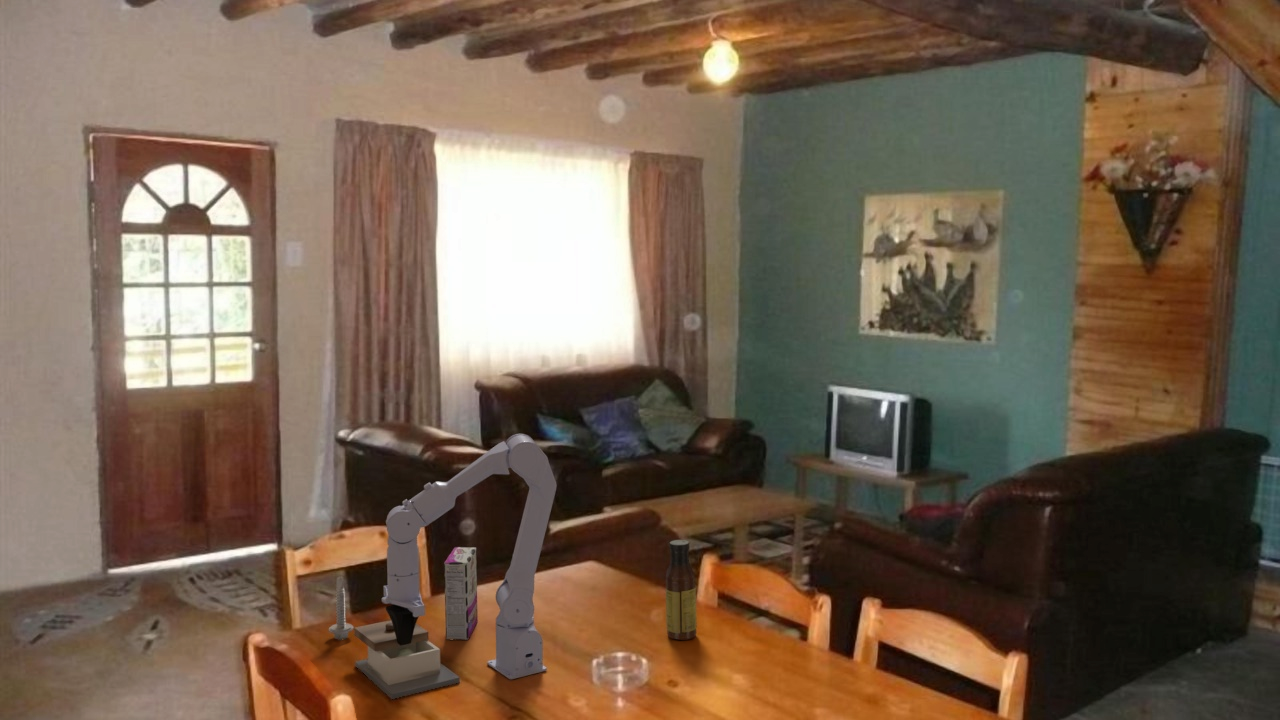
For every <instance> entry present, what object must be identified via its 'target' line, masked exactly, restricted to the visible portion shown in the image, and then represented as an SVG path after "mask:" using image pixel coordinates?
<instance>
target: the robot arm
mask: <svg viewBox="0 0 1280 720" xmlns="http://www.w3.org/2000/svg"><path fill="white" fill-rule="evenodd" d="M548 458H549V457H548V456H547V455H546V453H544V452H543V450H542V448H541V447H540V446H539V444H537V443H536V442H535V440H533V438H532V437H531V436H530V435H528V434H525V433H516V434H513V435H510V437H508V438H507V439H506V441H504V440H503V441H501V442H499V443H498V444H496V445H495V446H494V447H492V448H490V449H489V450H488V451H486V452H485V453H483V455H481V456H480V457H478V458H477V459H476V460H474V461H473V462H472V463H470V464H469V465H468V466H466V467H465V468H464V469H463V470H461V471H460V472H459V473H457V474H456V475H454V476H453V477H452V478H451V479H449V480H448V481H435V482H433V483H431V482H430V481H429V482H428V483H425V484H424V485H423V490H422V491H421V492H419V493H417V494H416V495H414V496H413V497H412V498H411V499H409V500H408V499H407V498H406V499H404V500H403V501H402V505H397V506H395V507H393V508H392V509H391V510H390V511H389V512H388V514H387V516H386V520H385V524H386V531H387V534H388V537H387V547H386V548H387V549H386V567H387V568H386V569H387V571H386V572H387V585H383V597H382V598H381V602H382V604H385V605H386V606H385V611H386V613H387V614H388V616H389V618H390V620H391V621H392V624H393V627H394V631H395V635H396V639H397V642H398V644H399V645H406V644H410V643H411V640H412V636H413V632H414V628H415V625H416V624H417V622H418V619H419V617H424V616H426V605H425V604H424V602H423V599H422V594H421V593H420V547H419V545H418V536H419V534H420V531H421V528H425V527H428V526H429V525H430V524H431V523H433V522H435V521H436V520H437V519H439V518H440V517H441V516H443V515H444V514H446V513H448V511H450V510H452V509H454V507H455V505H456V499H457V497H458V496H460V495H462V494H464V492H467V491H468V490H470V489H471V488H473V487H475V486H477V484H480V483H481V482H483V481H484V480H485V479H487V478H489V477H490V476H492V475H510V470H509V469H511V470H512V471H513V472H514V473H515V474H517V475H518V476H519V477H520V478H522V479H523V480H524V481H525V483H526V485H527V486H528V487H529V488H528V489H529V490H528V493H527V497H526V501H525V505H524V509H523V513H522V518H521V521H520V525H519V529H518V533H517V537H516V541H515V545H514V549H513V553H512V558H511V561H510V566H509V568H508V569H507V570H506V572H505V575H504V576H505V577H504V579H503V581H502V582H501V584H499V586H498V588H497V589H496V591H495V601H496V604H497V606H498V607H499V612H498V615H497V616H496V617H495V659H491V660H488V661H487V663H486V664H487V665H489V667H491V668H492V669H494V670H496V671H497V672H498V673H500V674H502V676H504V677H506V678H507V679H509V680H514V679H519V678H522V677H527V676H529V675H530V676H531V675H534V674H537V673H542V672H546V671H547V670H548V668H547V667H546V666H545V665H544V663H543V661H544V659H543V658H544V656H543V652H544V648H543V647H544V645H543V644H544V643H543V641H544V640H543V637H542V634H541V633H540V632H538V630H537V629H536V627H535V617H534V614H535V605H534V598H533V597H534V593H535V575H536V572H537V567H538V563H539V559H540V555H541V551H542V547H543V543H544V539H545V534H546V531H547V527H548V524H549V523H548V522H549V520H550V515H551V511H552V508H553V503H554V500H555V495H556V491H557V481H556V478H555V475H554V472H553V471H552V468H551V465H550V462H549V459H548ZM388 604H391V605H388Z"/></svg>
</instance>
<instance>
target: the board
mask: <svg viewBox="0 0 1280 720" xmlns="http://www.w3.org/2000/svg"><path fill="white" fill-rule="evenodd" d="M354 664H355V665H354V667H355V666H356V667H357V668H359V669H360V670H361V671H362V672H363V673H364V674H365V675H366V676H367V677H368V678H367V677H366V676H365V675H364V674H363V673H362V672H361V671H360V670H359V669H358V670H359V671H360V672H361V673H362V674H363V675H364V676H365V677H366V678H367V679H368V680H369V681H371V680H372V681H373V682H374V683H373V682H372V681H371V682H372V683H373V684H374V685H375V686H376V685H377V687H378V688H379V690H381V691H382V692H383V693H384V694H385V693H386V694H387V695H386V694H385V695H386V696H388V698H390V699H391V700H392V699H393V700H396V699H395V698H397V699H400V698H399V697H401V698H403V697H402V696H405V697H407V696H406V695H409V696H411V695H410V694H413V695H415V694H414V693H417V694H420V693H419V692H421V693H424V692H423V691H425V692H427V691H426V690H429V691H432V690H431V689H433V690H436V689H435V688H437V689H440V688H439V687H441V688H444V687H443V686H445V687H448V685H449V686H451V685H452V684H453V685H455V684H456V683H457V684H459V683H460V680H461V678H460V676H458V675H457V674H455V673H454V672H453V671H452V670H450V669H449V668H448V667H446V666H445V665H444V664H442V663H441V662H440V673H437V674H433V675H429V676H425V677H421V678H416V679H412V680H408V681H404V682H400V683H396V684H392V685H388V684H387V683H386V682H385V681H383V680H382V679H381V678H380V677H379V676H378V675H377V674H375V673H374V672H373V671H372V670H371V669H370V668H368V658H365V659H360V660H357V661H355V662H354ZM356 667H355V668H356ZM357 668H356V669H357Z"/></svg>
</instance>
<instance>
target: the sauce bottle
mask: <svg viewBox="0 0 1280 720" xmlns="http://www.w3.org/2000/svg"><path fill="white" fill-rule="evenodd" d="M669 550H670V561H669V562H670V563H669V566H668V567H667V569H666V571H665V608H666V609H665V611H666V612H665V613H666V616H665V617H666V621H665V622H666V633H667V635H668V637H669V638H671V639H673V640H678V641H679V640H680V641H686V640H687V641H688V640H691V639H694V638H696V636H697V628H698V625H697V624H698V623H697V622H698V621H697V597H696V596H697V589H696V587H697V586H696V579H695V577H696V575H695V574H696V573H695V571H694V570H693V567H692V566H691V563H690V557H689V553H690V552H689V551H690V542H689V540H684V539H674V540H671V541H670V542H669Z"/></svg>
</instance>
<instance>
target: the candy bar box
mask: <svg viewBox="0 0 1280 720" xmlns="http://www.w3.org/2000/svg"><path fill="white" fill-rule="evenodd" d="M443 567H444V568H443V569H444V571H443V572H444V603H445V605H444V606H445V609H444V610H445V613H444V615H445V640H446V639H453V640H452V641H469V640H468V639H470V638H471V635H472V633H473V631H474V629H475V627H476V626H477V623H478V620H479V619H478V617H479V616H478V584H477V583H478V581H477V580H478V579H477V578H478V575H477V573H478V572H477V571H478V570H477V569H478V568H477V547H474V546H473V547H471V546H470V547H467V546H466V547H465V546H455V547H454V548H453V549H452V551H451V552H450V554H449V555H448V556H447V558H446V560H445V561H444V563H443ZM469 637H470V638H469ZM455 639H456V640H455Z"/></svg>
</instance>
